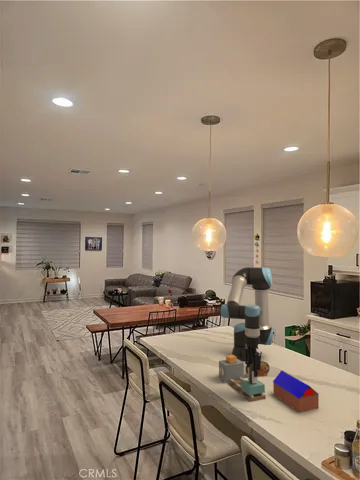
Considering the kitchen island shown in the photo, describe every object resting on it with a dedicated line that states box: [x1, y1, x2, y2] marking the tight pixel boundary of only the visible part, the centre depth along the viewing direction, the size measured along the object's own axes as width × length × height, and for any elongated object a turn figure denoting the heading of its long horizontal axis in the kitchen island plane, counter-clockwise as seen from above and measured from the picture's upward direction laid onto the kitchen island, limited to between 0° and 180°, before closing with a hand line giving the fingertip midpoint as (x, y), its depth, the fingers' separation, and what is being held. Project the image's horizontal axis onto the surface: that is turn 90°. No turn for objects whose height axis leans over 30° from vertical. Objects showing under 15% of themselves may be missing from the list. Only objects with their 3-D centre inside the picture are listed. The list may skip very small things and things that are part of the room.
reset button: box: [225, 354, 237, 363], centre depth 183 cm, size 4×4×3 cm
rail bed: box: [228, 377, 267, 403], centre depth 168 cm, size 22×9×2 cm, turn 20°
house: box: [272, 370, 320, 413], centre depth 157 cm, size 12×20×12 cm, turn 20°
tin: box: [244, 360, 270, 378], centre depth 188 cm, size 15×3×8 cm, turn 105°
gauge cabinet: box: [218, 359, 245, 384], centre depth 183 cm, size 12×8×10 cm, turn 110°
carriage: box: [241, 364, 266, 395], centre depth 162 cm, size 8×9×13 cm
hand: (252, 381), depth 162 cm, fingers closed on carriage, 3 cm apart
